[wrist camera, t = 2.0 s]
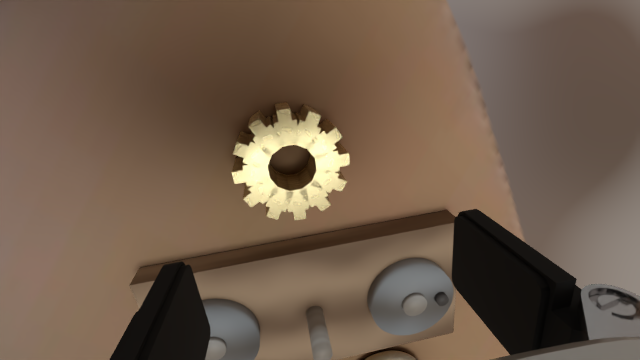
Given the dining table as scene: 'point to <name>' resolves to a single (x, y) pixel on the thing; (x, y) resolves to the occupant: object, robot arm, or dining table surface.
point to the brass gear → (294, 187)
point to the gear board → (326, 291)
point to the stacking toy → (391, 356)
